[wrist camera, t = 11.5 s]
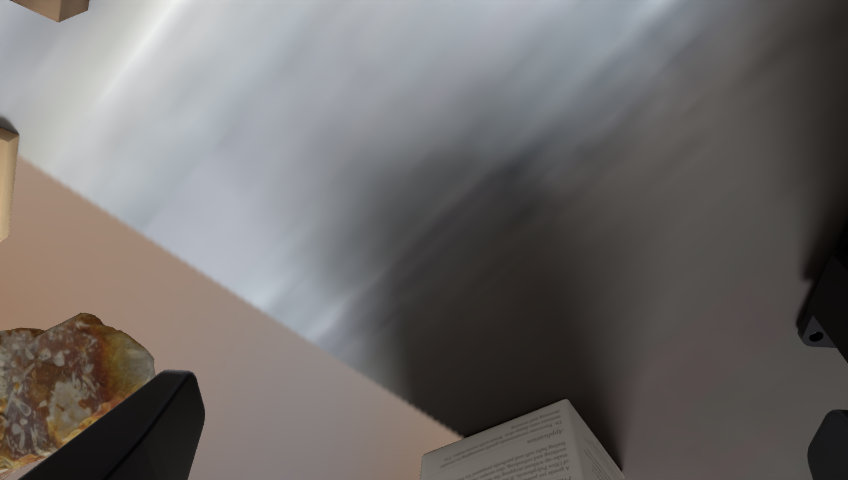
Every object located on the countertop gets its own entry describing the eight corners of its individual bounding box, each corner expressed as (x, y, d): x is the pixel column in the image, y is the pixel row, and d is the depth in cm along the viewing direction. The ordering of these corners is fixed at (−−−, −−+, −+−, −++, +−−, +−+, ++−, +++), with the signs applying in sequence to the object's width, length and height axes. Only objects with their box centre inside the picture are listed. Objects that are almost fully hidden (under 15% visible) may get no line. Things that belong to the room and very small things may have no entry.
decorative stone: (-241, 438, 24) (44, 296, 22) (-154, 366, 28) (98, 237, 25) (-53, 564, 29) (206, 460, 26) (1, 487, 33) (232, 388, 30)
